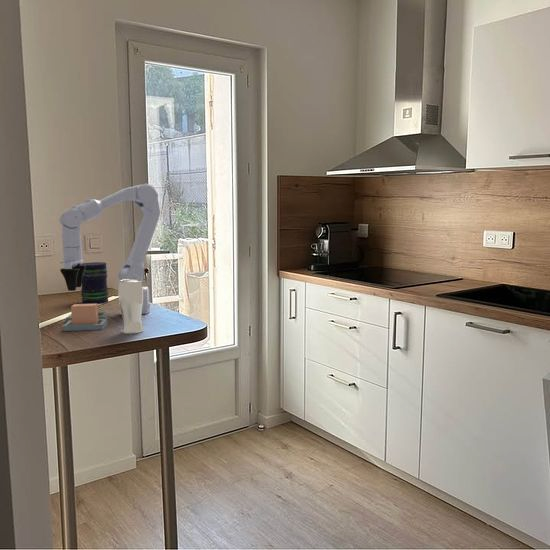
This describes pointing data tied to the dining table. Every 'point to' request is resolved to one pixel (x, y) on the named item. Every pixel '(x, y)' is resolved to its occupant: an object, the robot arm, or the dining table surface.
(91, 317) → the terracotta block
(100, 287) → the storage jar
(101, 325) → the grey picture frame
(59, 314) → the dining table surface
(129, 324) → the beer glass
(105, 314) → the grey rectangular open frame
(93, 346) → the dining table surface
